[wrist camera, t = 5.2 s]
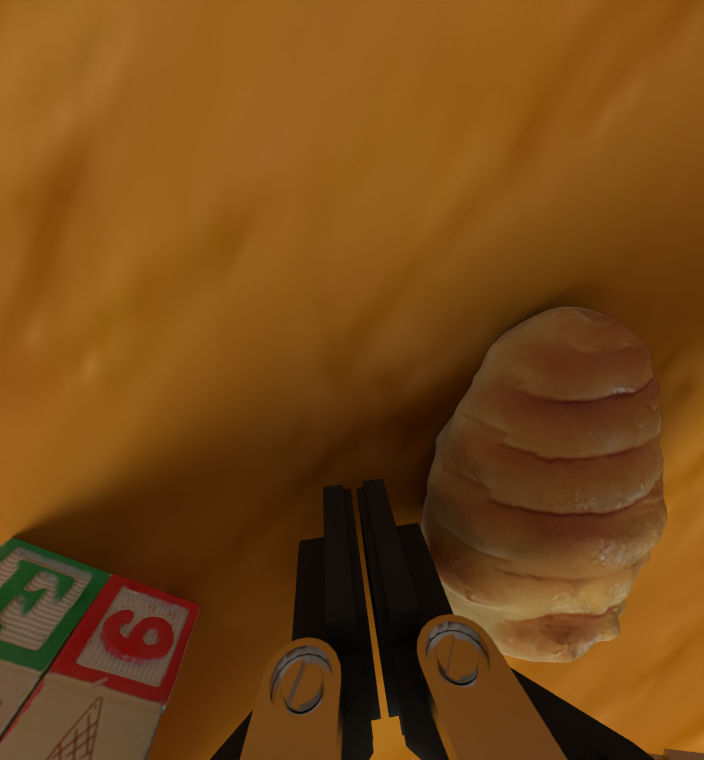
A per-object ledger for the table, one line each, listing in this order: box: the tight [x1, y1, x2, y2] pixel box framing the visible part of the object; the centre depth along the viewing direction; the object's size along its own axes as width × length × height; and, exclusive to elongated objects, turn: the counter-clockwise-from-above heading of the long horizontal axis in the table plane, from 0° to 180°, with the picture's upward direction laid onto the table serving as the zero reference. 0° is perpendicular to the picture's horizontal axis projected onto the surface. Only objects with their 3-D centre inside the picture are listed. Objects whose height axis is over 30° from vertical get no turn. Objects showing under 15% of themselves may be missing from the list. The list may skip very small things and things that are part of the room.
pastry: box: [421, 307, 667, 663], centre depth 10 cm, size 9×7×4 cm
